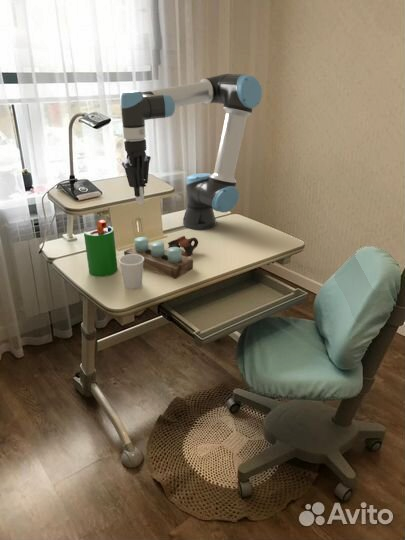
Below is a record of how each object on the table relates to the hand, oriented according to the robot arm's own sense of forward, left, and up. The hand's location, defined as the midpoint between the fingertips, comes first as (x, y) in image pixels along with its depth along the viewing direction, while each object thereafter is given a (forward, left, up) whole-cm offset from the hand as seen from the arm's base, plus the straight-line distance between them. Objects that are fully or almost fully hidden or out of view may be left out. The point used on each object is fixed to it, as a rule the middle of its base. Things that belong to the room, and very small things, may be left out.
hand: (140, 203), depth 162 cm
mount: (+4, +11, -21) cm, 24 cm away
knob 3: (+4, +19, -20) cm, 28 cm away
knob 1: (+4, +3, -20) cm, 21 cm away
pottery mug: (-10, +12, -21) cm, 26 cm away
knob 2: (+4, +11, -20) cm, 23 cm away
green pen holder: (+19, -1, -21) cm, 28 cm away
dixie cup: (+21, +15, -21) cm, 33 cm away
